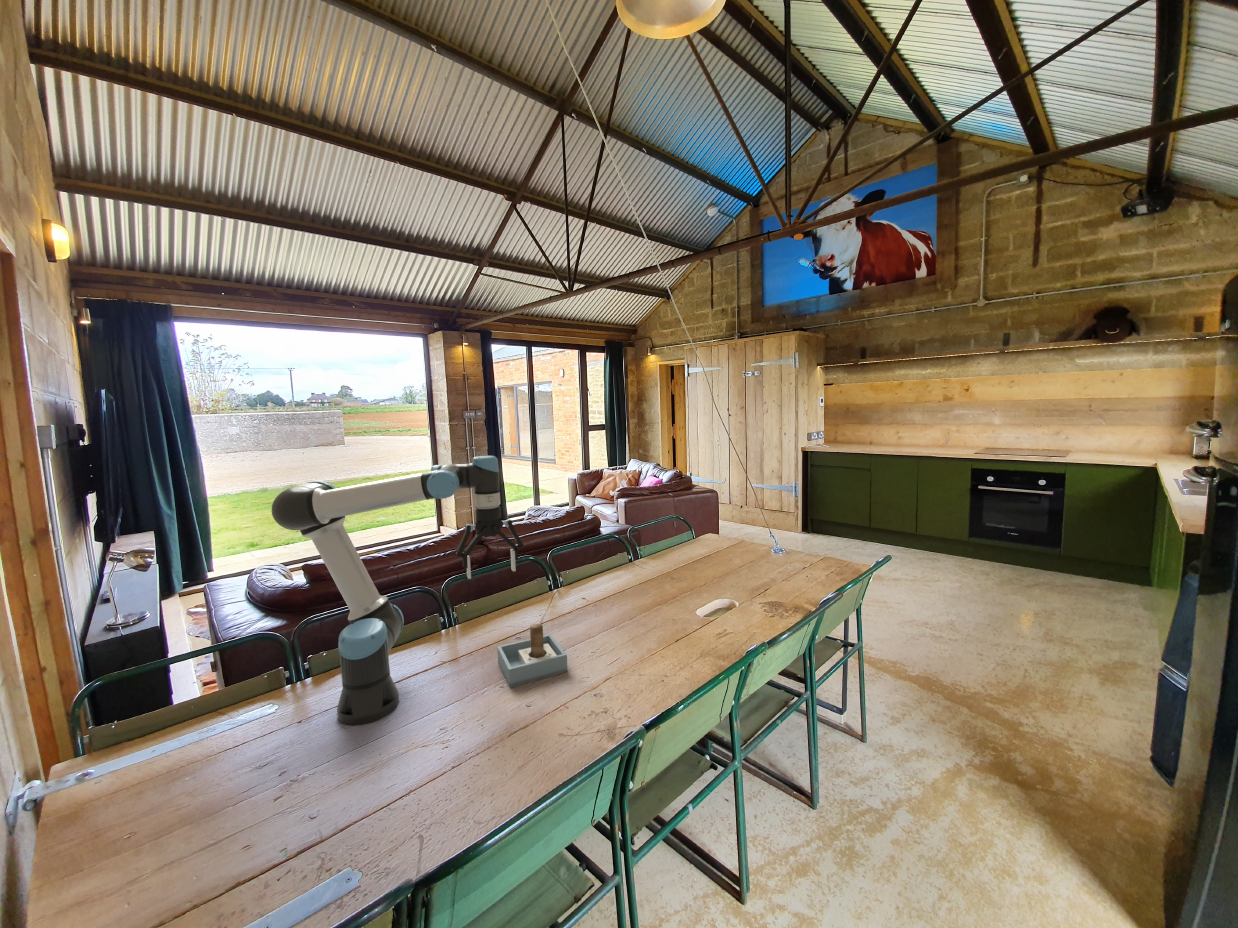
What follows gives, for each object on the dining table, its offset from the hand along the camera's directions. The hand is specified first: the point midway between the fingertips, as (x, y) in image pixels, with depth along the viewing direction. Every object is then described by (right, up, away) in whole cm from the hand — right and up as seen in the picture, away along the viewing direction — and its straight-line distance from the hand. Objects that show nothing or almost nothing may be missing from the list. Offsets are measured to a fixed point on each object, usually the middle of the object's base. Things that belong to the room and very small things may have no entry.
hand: (491, 573), depth 149 cm
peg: (+14, -29, +4) cm, 32 cm away
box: (+12, -30, +3) cm, 33 cm away
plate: (+14, -30, +4) cm, 33 cm away
